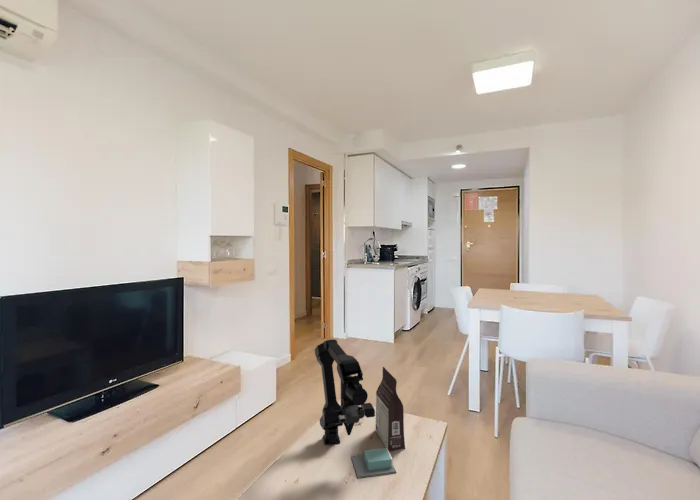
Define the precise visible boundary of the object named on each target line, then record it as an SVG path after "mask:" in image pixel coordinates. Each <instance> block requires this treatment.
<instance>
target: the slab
mask: <svg viewBox="0 0 700 500" xmlns="http://www.w3.org/2000/svg"><path fill="white" fill-rule="evenodd" d="M363 454H364V459H365V462H366V465H367V467H368V470H375V469H382V468H390V467H393V466H394V464H393V462H394V461H393V457H392V455H391V453H390V451H388V449H387V448H386V447H383V448H375V449H368V450H367V449H365V450H363Z"/></svg>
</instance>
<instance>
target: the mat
mask: <svg viewBox="0 0 700 500" xmlns="http://www.w3.org/2000/svg"><path fill="white" fill-rule="evenodd" d="M351 461H352V464H353V467H354V470H355V474H356V477H357V479H361V478H368V477H369V478H370V477H376V476H383V475H391V474H397V471H396V468H395V465H393V467H390V468H382V469H375V470H368V467H367V465H366V462H365V459H364V453H363V454H362V453H361V454H355V455H351Z"/></svg>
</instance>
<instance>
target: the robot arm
mask: <svg viewBox="0 0 700 500" xmlns="http://www.w3.org/2000/svg"><path fill="white" fill-rule="evenodd" d="M314 355H315V358H316V361H317V363H318V365H320V366H321V376H322V382H323V393H324V394H323V395H324V400H325V401H324V402H325V403H324V404H323V408H322V415H321V417H320V418H319V426H320V427H321V429H322V430H323V431H324V434H323V435H322V438H323V444H324V446H325V445H334V444H340V443H341V439H340V436H339V427H343V425H344V428H345V432H346V433H347V436H351V433H352V430H353V428H354V426H355V424H357V423H359V422H360V420H361V419H363V418H365V417H366V418H368V419H369V418H373V417H374V418H375V417H376V408H374V406H373V404H372V403H371V402H367V400H368V396H369V395H368V392H367V390H366V389H365V388H364V387H363V384H361V383H360V381H363V380H364V378H363V375H364V374H363V371H362V368H361V365H360V361H358V359H356V358H355V357H354V356H353V355H350V354H347V353H346V352H345V350H344V349H343V348H342V347H341V346H340V345H339V343H338V340H337V339H334V338H332V339H327V340H325V341H323V342H322V343H319V344H318V345H316V347H315V348H314ZM334 362H335V363H336V371H337V374H338V376H339V380H340V404H339V402H338V401H337V393H336V383H335V376H334V368H333V365H334ZM366 402H367V403H366Z"/></svg>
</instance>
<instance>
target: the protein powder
mask: <svg viewBox="0 0 700 500" xmlns="http://www.w3.org/2000/svg"><path fill="white" fill-rule="evenodd" d="M397 383H398V382H397V379H396V378H395V377H394V376H393V375H392V374H391V373H390V372H389V371H388V370H387V368H385V367H384V366H382V379H381V381H380V383H379V385H378V387H377V389H376V391H375V397H376V398H375V429H374V430H375V432H376V433H377V434H378V436H379V437H380V439H381V442H382V443H383V445H384V448H387V449H388V451H389V452H393V451H399V450H405V449H406V444H405V443H406V441H405V440H406V439H405V430H404V429H405V428H404V425H405V424H404V418H405V417H404V413H405V412H404V411H405V410H404V405H403V402H402V400H401V399H400V397H399V394H398V393H397Z"/></svg>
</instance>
